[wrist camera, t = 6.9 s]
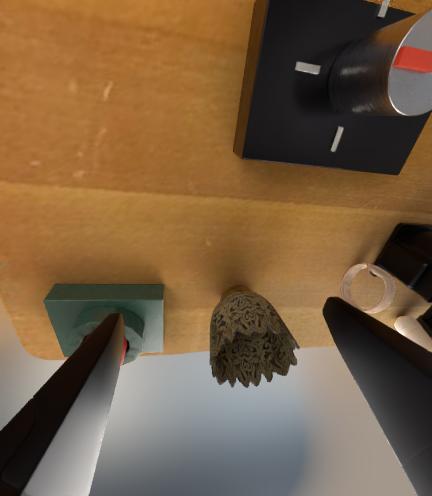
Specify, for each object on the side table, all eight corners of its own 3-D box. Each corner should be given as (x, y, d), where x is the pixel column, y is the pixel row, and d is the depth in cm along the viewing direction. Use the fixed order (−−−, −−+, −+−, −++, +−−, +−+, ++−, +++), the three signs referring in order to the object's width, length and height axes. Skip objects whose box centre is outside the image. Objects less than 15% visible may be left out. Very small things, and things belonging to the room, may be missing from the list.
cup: (199, 272, 22) (207, 341, 16) (270, 264, 23) (307, 328, 16) (204, 322, 26) (212, 395, 20) (265, 314, 27) (293, 382, 20)
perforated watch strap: (371, 259, 25) (411, 290, 20) (345, 291, 27) (375, 325, 23) (353, 253, 24) (390, 284, 20) (327, 287, 26) (356, 321, 22)
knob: (401, 41, 12) (511, 8, 8) (370, 117, 14) (447, 121, 10) (342, 29, 12) (429, -15, 8) (318, 110, 13) (378, 110, 9)
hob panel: (434, 23, 14) (491, 4, 12) (369, 166, 19) (400, 176, 16) (257, -22, 12) (278, -58, 10) (232, 151, 17) (242, 159, 14)
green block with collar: (164, 284, 23) (161, 314, 19) (164, 335, 27) (162, 368, 23) (54, 283, 21) (30, 317, 18) (72, 338, 25) (55, 374, 22)
